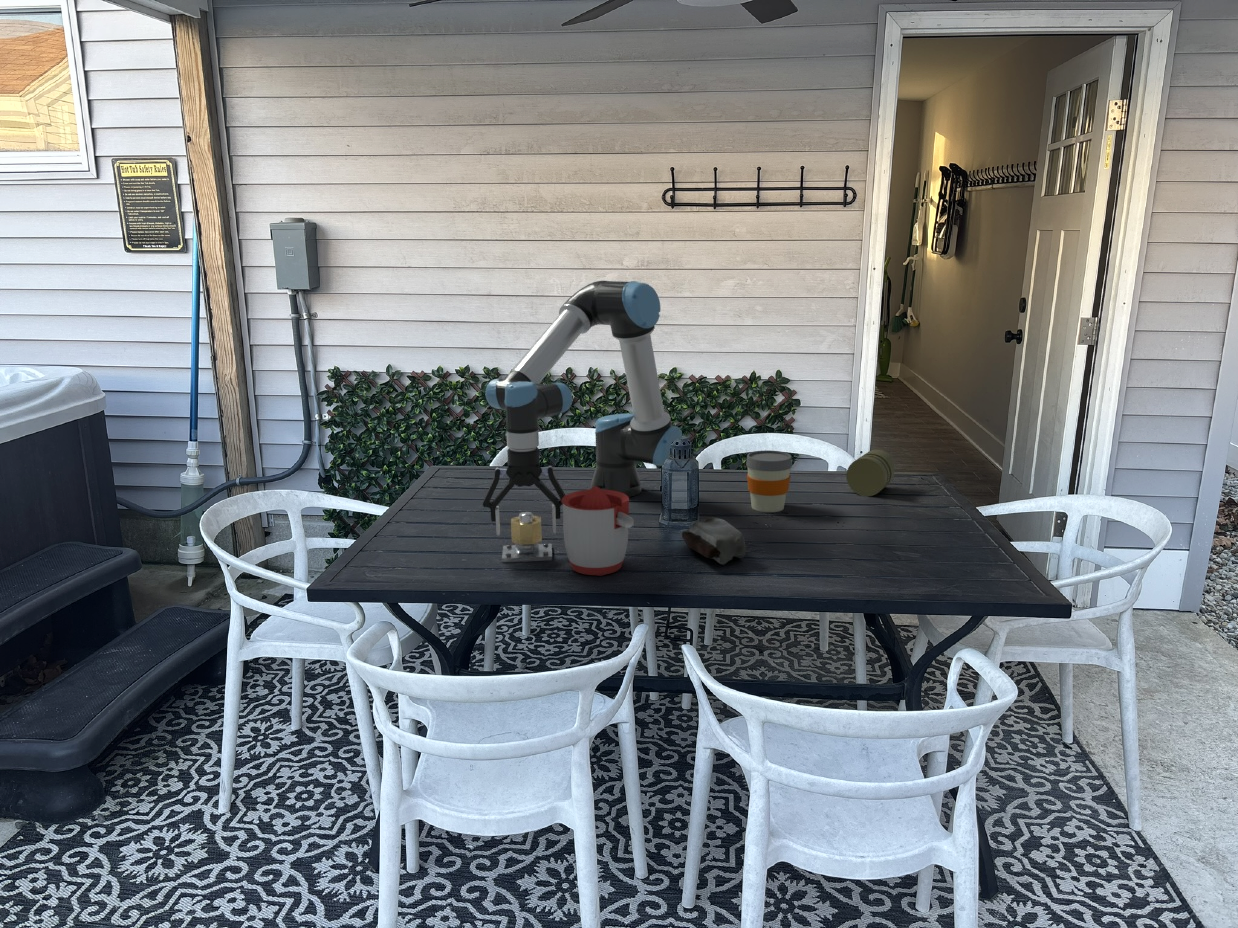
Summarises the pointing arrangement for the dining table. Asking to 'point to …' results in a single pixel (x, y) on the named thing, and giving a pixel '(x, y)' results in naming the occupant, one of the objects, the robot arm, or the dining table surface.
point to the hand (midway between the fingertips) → (526, 532)
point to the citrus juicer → (596, 530)
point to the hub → (526, 531)
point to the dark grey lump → (715, 540)
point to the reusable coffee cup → (768, 479)
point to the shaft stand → (527, 547)
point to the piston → (871, 472)
